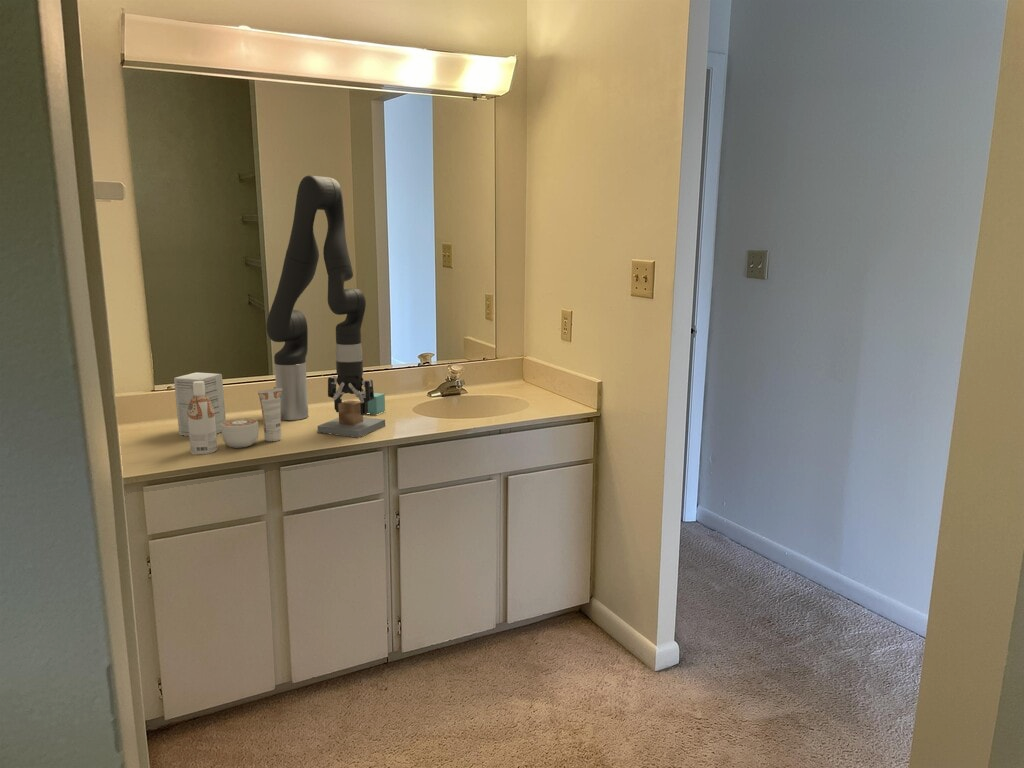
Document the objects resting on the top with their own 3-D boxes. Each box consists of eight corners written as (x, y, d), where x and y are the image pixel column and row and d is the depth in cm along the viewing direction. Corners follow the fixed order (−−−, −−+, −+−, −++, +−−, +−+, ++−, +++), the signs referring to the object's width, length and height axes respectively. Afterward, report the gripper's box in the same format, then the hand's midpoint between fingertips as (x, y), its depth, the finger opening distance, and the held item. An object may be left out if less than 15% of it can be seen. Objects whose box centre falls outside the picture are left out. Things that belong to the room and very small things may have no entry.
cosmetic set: (279, 434, 212) (275, 370, 208) (291, 442, 205) (287, 375, 201) (186, 449, 197) (180, 380, 193) (195, 458, 190) (189, 386, 186)
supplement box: (227, 430, 216) (223, 373, 212) (205, 438, 207) (200, 379, 204) (201, 427, 219) (196, 371, 215) (177, 435, 210) (172, 377, 207)
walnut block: (339, 423, 216) (338, 403, 215) (348, 419, 220) (348, 400, 219) (353, 425, 214) (352, 405, 213) (363, 421, 219) (362, 401, 217)
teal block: (363, 413, 236) (362, 395, 235) (371, 410, 241) (371, 392, 240) (376, 415, 235) (376, 396, 233) (385, 411, 239) (384, 393, 238)
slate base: (317, 432, 214) (317, 425, 213) (345, 421, 227) (345, 415, 226) (359, 437, 209) (358, 430, 208) (385, 425, 221) (385, 419, 221)
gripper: (320, 359, 213) (323, 413, 216) (363, 362, 207) (365, 418, 211) (336, 355, 219) (338, 408, 223) (377, 358, 214) (379, 412, 218)
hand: (351, 413), depth 217 cm, fingers open, 8 cm apart
